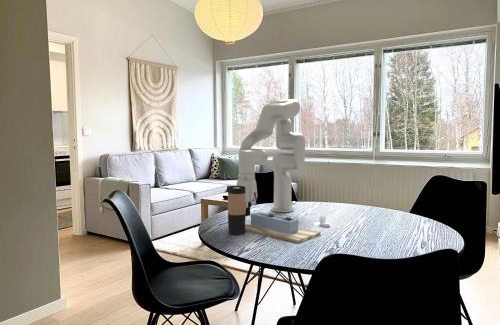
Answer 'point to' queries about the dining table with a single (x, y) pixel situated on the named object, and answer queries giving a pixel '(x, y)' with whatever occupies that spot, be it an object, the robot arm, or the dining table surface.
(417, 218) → the dining table surface
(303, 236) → the board
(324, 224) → the white curved piece
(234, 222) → the travel mug
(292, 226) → the blue slotted peg holder
